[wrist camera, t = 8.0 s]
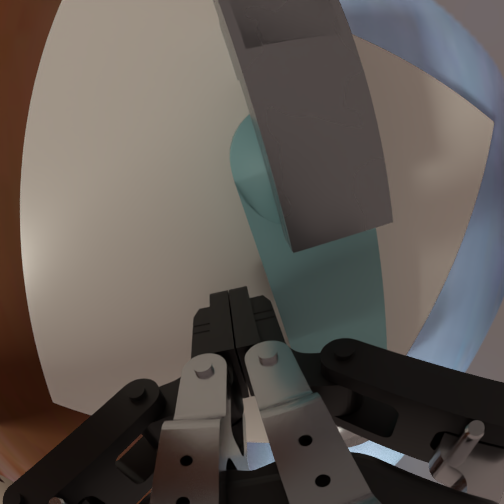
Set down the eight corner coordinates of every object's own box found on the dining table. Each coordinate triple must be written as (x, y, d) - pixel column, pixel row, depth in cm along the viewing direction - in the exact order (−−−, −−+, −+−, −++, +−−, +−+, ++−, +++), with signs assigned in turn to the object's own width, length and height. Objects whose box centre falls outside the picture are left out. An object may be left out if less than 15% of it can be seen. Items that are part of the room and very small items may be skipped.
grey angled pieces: (383, 391, 17) (408, 438, 13) (298, 421, 17) (312, 474, 13) (323, 8, 9) (368, -37, 5) (174, 38, 9) (150, -9, 5)
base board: (59, 388, 17) (52, 402, 15) (77, 5, 8) (64, -5, 7) (340, 426, 20) (345, 439, 19) (476, 120, 12) (494, 122, 11)
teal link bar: (381, 395, 16) (393, 419, 14) (308, 423, 16) (315, 449, 14) (333, 88, 9) (356, 80, 7) (200, 125, 10) (195, 123, 8)
